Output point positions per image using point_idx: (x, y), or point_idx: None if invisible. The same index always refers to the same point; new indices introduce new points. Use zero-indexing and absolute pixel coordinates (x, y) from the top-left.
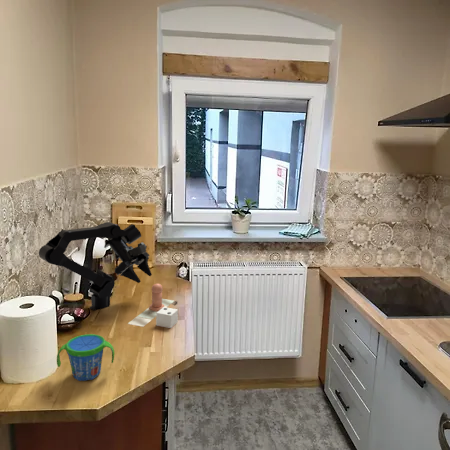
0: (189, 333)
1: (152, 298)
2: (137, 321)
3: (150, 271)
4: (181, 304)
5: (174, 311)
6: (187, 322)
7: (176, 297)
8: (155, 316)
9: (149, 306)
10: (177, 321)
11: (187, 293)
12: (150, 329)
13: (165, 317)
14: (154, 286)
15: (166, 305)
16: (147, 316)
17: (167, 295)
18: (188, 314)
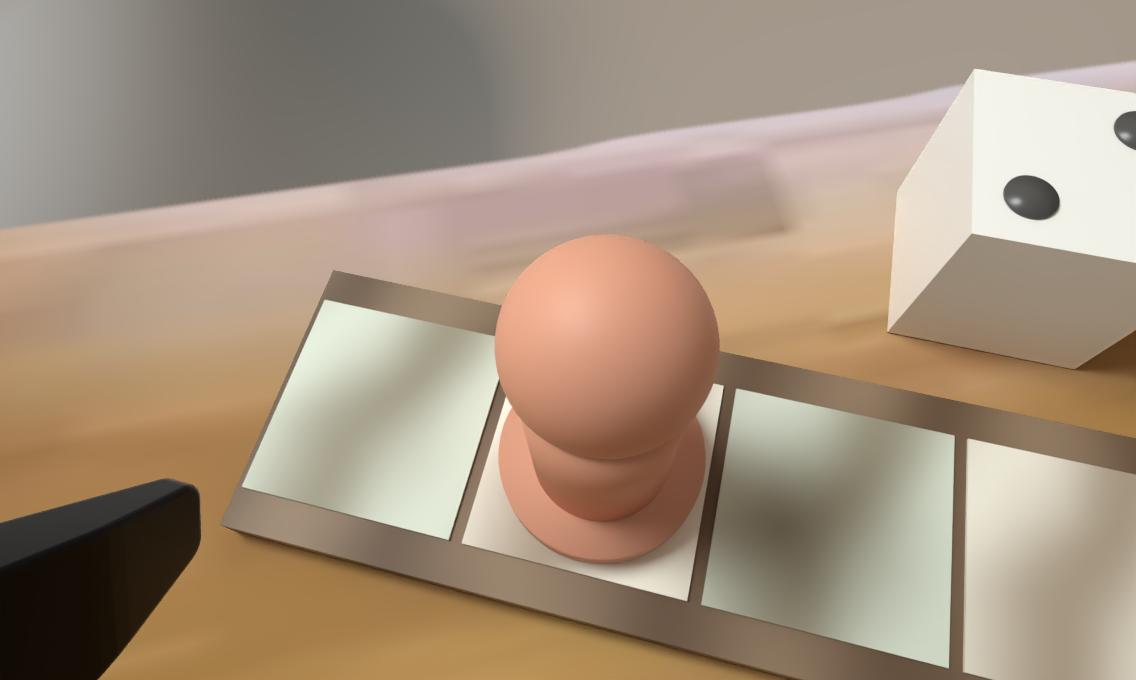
0: (1038, 77)
1: (655, 474)
2: (1103, 611)
3: (56, 514)
4: (369, 240)
5: (1053, 91)
6: (820, 122)
7: (142, 327)
8: (861, 418)
9: (639, 552)
10: (914, 171)
11: (18, 232)
12: (1132, 420)
13: None
14: (689, 351)
15: (491, 362)
16: (898, 517)
17: (56, 449)
18: (631, 140)
